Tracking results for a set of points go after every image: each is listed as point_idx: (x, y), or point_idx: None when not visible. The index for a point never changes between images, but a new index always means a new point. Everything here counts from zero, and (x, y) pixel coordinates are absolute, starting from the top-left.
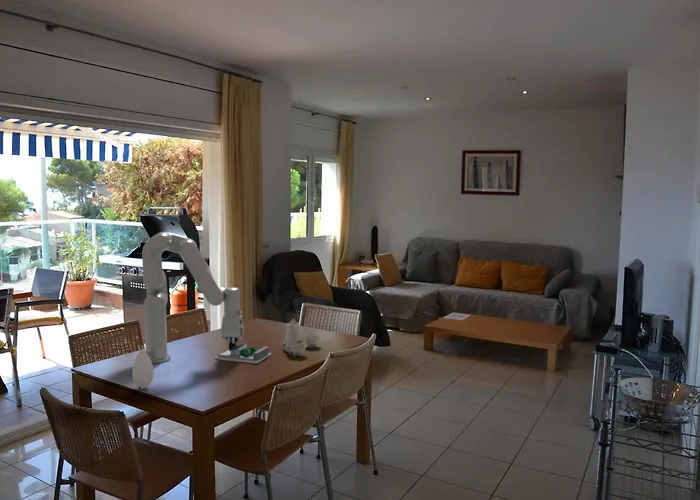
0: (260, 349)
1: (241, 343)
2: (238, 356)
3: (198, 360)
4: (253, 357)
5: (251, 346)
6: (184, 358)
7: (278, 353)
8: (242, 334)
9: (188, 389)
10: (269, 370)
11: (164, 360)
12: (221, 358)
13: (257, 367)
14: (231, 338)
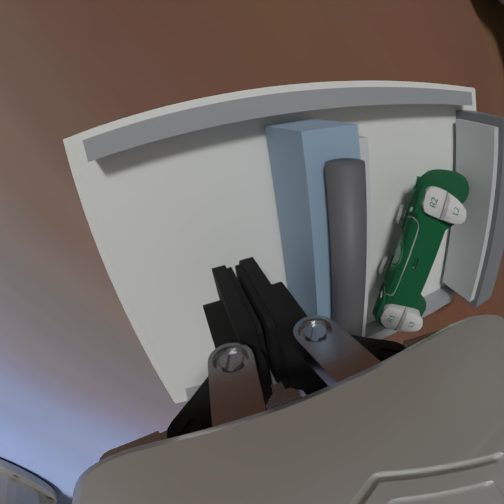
0: (499, 219)
1: (357, 239)
2: None
3: (122, 442)
4: (451, 286)
5: (457, 222)
6: (40, 447)
7: (470, 35)
8: (487, 330)
9: None
10: (489, 304)
11: (53, 492)
12: None
13: (458, 314)
14: (254, 399)
